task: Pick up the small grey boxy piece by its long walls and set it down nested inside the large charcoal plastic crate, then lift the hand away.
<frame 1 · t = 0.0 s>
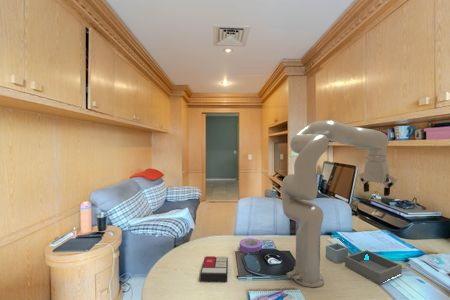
hand: (376, 193, 112), 31 cm above the table, tool pointing down, fingers open, 9 cm apart
hard drive: (339, 245, 125), on the table
masking tape: (250, 250, 119), on the table
grey crate: (372, 270, 99), on the table
grey boxy piece: (336, 258, 110), on the table
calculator: (215, 272, 99), on the table
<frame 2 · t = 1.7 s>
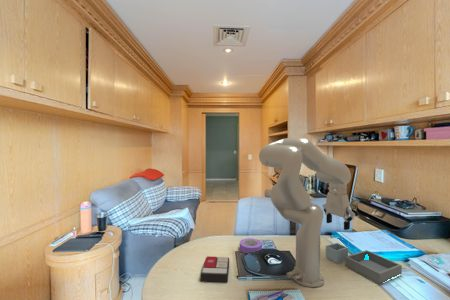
hand: (337, 225, 109), 16 cm above the table, tool pointing down, fingers open, 9 cm apart
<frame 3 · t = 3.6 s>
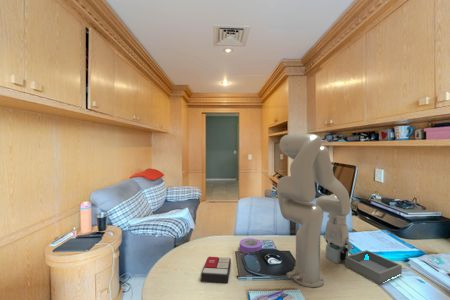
hand: (336, 256, 110), 1 cm above the table, tool pointing down, fingers closed on grey boxy piece, 6 cm apart
grey boxy piece: (336, 258, 110), on the table, touching gripper
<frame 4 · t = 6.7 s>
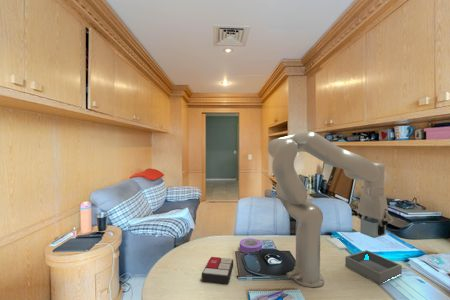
hand: (372, 231, 99), 18 cm above the table, tool pointing down, fingers closed on grey boxy piece, 6 cm apart
grey boxy piece: (372, 233, 99), point 16 cm above the table, touching gripper
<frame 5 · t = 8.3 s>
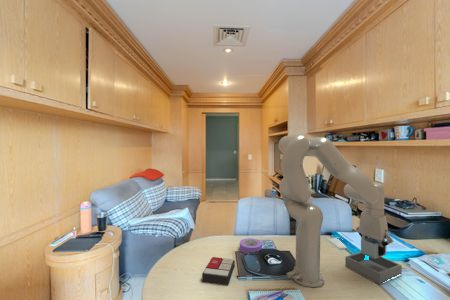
hand: (373, 251, 99), 9 cm above the table, tool pointing down, fingers closed on grey boxy piece, 6 cm apart
grey boxy piece: (373, 253, 99), point 8 cm above the table, touching gripper
when the fingers open (3 cm above the table, at t = 9.8 s): grey boxy piece drops 1 cm, resting on grey crate.
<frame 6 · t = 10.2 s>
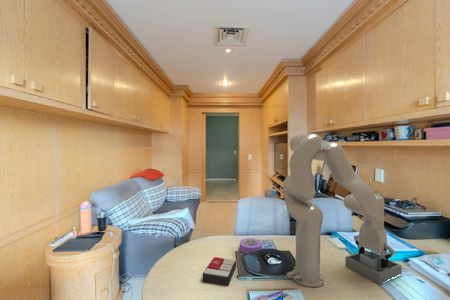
hand: (372, 261, 99), 4 cm above the table, tool pointing down, fingers open, 9 cm apart
grey boxy piece: (372, 269, 99), point 1 cm above the table, touching grey crate
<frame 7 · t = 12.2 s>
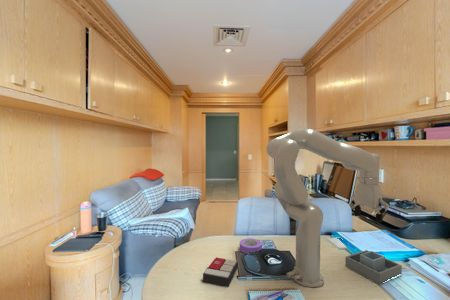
hand: (367, 218, 101), 22 cm above the table, tool pointing down, fingers open, 9 cm apart
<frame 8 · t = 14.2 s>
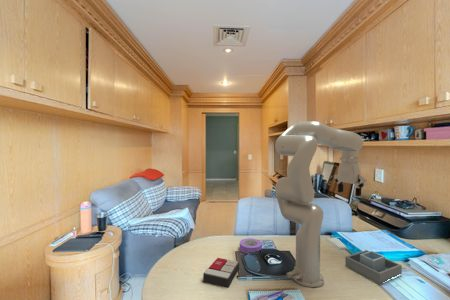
hand: (349, 193, 115), 30 cm above the table, tool pointing down, fingers open, 9 cm apart
at the end: grey boxy piece inside the target area on the grey crate (0.1 cm from its centre), point 0.8 cm above the grey crate's base; grey boxy piece tilted 0°; the gripper is holding nothing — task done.
